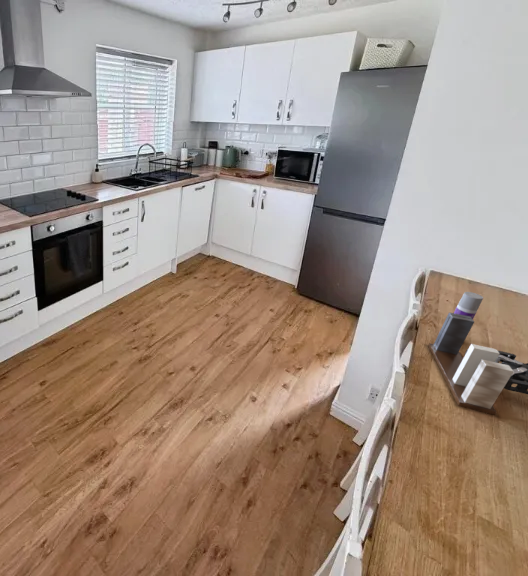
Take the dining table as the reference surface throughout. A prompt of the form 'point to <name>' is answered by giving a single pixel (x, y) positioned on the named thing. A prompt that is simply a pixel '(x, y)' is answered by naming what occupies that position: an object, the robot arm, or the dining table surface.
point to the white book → (473, 363)
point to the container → (469, 304)
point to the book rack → (486, 376)
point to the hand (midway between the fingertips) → (471, 361)
